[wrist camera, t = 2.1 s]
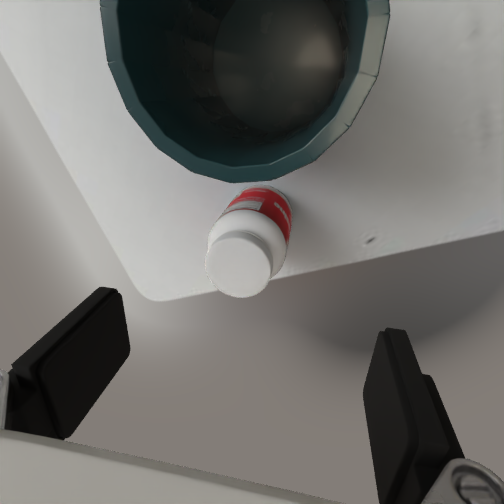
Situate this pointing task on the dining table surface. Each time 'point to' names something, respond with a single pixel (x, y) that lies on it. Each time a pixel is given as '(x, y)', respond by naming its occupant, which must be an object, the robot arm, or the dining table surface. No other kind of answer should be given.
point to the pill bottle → (249, 241)
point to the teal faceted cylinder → (244, 77)
